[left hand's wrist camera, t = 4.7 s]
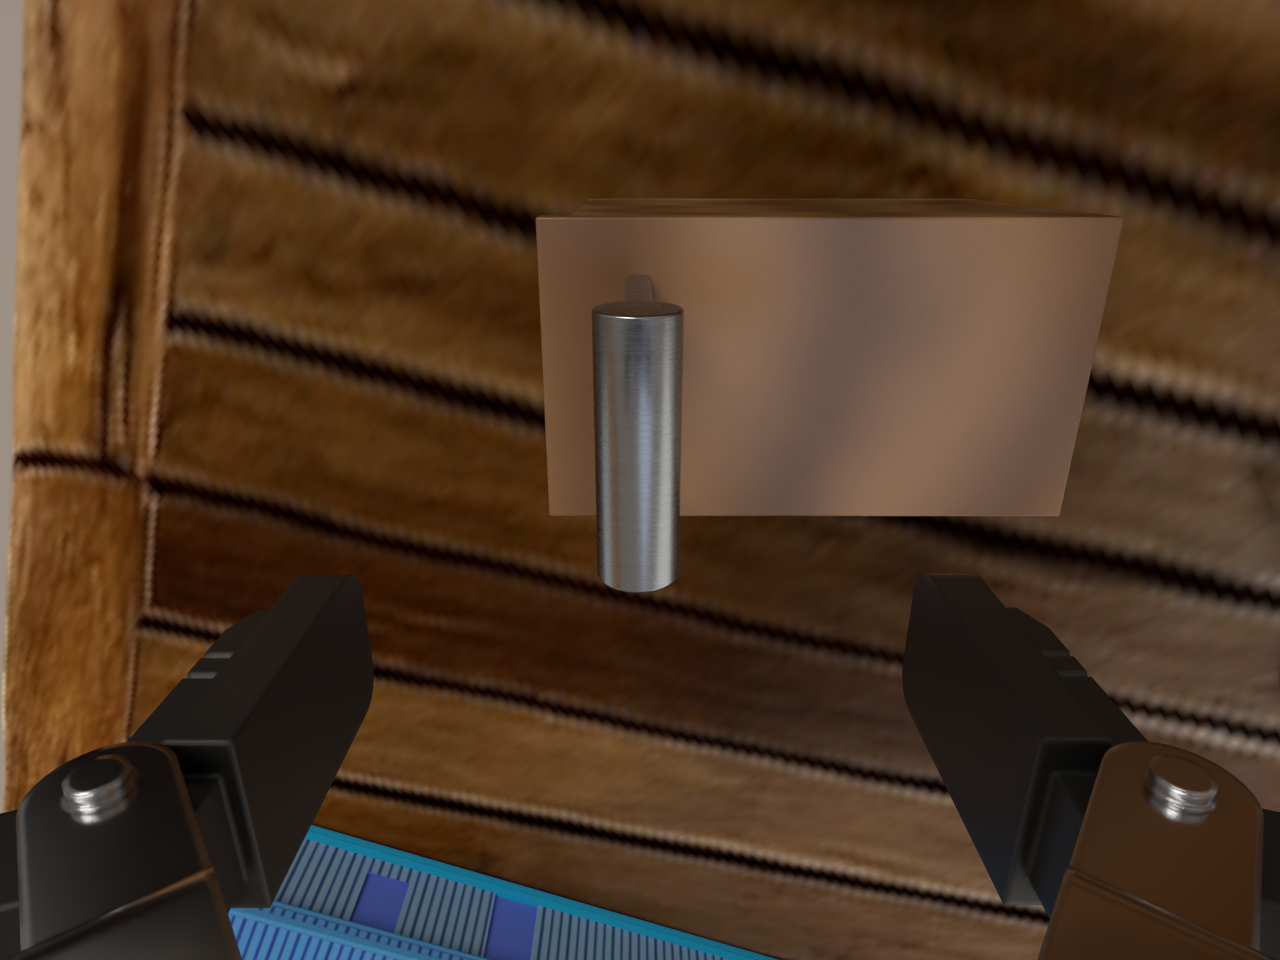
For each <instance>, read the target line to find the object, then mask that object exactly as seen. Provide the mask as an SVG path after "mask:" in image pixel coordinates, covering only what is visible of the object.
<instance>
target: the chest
mask: <svg viewBox="0 0 1280 960" xmlns="http://www.w3.org/2000/svg"><path fill="white" fill-rule="evenodd" d="M571 215H1101V214H1092V213H1084V212H1075V211H1067V210H1058V209H1050V208H1041V207H1033V206H1024V205H1016V204H1007V203H999V202H990V201H982V200H977V199H968V198H590V199H589V200H588V202H586V203H585V204H584V205H582V206H581V207H580V208H578V209H577V210H576V211H574V212H573V213H572V214H571Z"/></svg>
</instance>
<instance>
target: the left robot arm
mask: <svg viewBox="0 0 1280 960" xmlns="http://www.w3.org/2000/svg"><path fill="white" fill-rule="evenodd" d="M1069 653H1070V652H1069V651H1068V649H1067V648H1066V647H1065V646H1064V645H1063V644H1062V643H1061V641H1060V640H1059V639H1058V638H1057V637H1056V636H1055V635H1054V633H1053V632H1052V631H1051V630H1050V629H1049V628H1048V627H1046V626H1045V625H1043V624H1041V623H1040V622H1038V621H1037V620H1035V619H1033V618H1032V617H1030V616H1029V615H1027V614H1025V613H1024V612H1022V611H1021V610H1019V609H1017V608H1005V607H1004V606H1003V604H1002V603H1001V602H1000V601H999V599H998V598H997V597H996V596H995V595H994V593H993V592H992V591H991V590H990V588H989V587H988V586H987V585H986V584H985V582H984V581H983V580H982V579H981V578H980V577H979V576H978V575H977V574H921V575H920V576H919V577H918V579H917V581H916V584H915V588H914V593H913V600H912V607H911V613H910V620H909V627H908V634H907V640H906V647H905V654H904V661H903V671H902V680H903V690H904V696H905V700H906V704H907V707H908V710H909V712H910V714H911V716H912V718H913V720H914V722H915V724H916V726H917V728H918V730H919V732H920V734H921V737H922V739H923V741H924V743H925V745H926V747H927V749H928V751H929V753H930V755H931V757H932V759H933V761H934V763H935V765H936V767H937V769H938V771H939V773H940V775H941V777H942V779H943V782H944V784H945V786H946V788H947V790H948V792H949V794H950V796H951V798H952V800H953V802H954V804H955V806H956V808H957V810H958V812H959V814H960V816H961V818H962V820H963V822H964V824H965V827H966V829H967V831H968V833H969V835H970V837H971V839H972V841H973V843H974V845H975V847H976V849H977V851H978V853H979V855H980V857H981V859H982V861H983V863H984V865H985V867H986V869H987V872H988V874H989V876H990V878H991V880H992V882H993V884H994V886H995V888H996V890H997V892H998V894H999V896H1000V898H1001V900H1002V902H1003V904H1004V905H1043V907H1044V909H1045V911H1046V913H1047V914H1048V916H1049V918H1050V922H1049V925H1048V928H1047V931H1046V934H1045V938H1044V941H1043V944H1042V947H1041V950H1040V954H1039V957H1038V960H1280V812H1275V811H1271V810H1266V809H1262V808H1261V806H1260V803H1259V802H1258V800H1257V799H1256V797H1255V796H1254V794H1253V793H1252V792H1251V791H1250V790H1249V789H1248V788H1247V787H1246V786H1245V785H1244V784H1243V783H1242V782H1241V781H1240V780H1238V779H1237V778H1236V777H1235V776H1233V775H1232V774H1231V773H1229V772H1228V771H1226V770H1225V769H1223V768H1222V767H1220V766H1218V765H1217V764H1215V763H1213V762H1212V761H1209V760H1207V759H1205V758H1203V757H1201V756H1199V755H1197V754H1194V753H1192V752H1189V751H1187V750H1184V749H1180V748H1177V747H1174V746H1170V745H1166V744H1161V743H1154V742H1148V741H1147V740H1146V739H1145V738H1144V736H1143V735H1142V734H1141V733H1140V732H1139V731H1138V730H1137V728H1136V727H1135V726H1134V725H1133V724H1132V723H1131V722H1130V720H1129V719H1128V718H1127V717H1126V716H1125V715H1124V714H1123V712H1122V711H1121V710H1120V709H1119V708H1118V707H1117V706H1116V704H1115V703H1114V702H1113V701H1112V700H1111V699H1110V698H1109V696H1108V695H1107V694H1106V693H1105V692H1104V691H1103V690H1102V688H1101V687H1100V686H1099V685H1098V684H1097V683H1096V682H1095V680H1094V679H1093V678H1092V677H1087V671H1086V670H1085V669H1084V668H1083V667H1082V665H1081V664H1080V663H1079V662H1078V661H1077V660H1076V659H1075V657H1070V654H1069ZM187 674H188V676H187V679H182V680H181V681H180V682H179V684H178V685H177V686H176V687H175V688H174V689H173V690H172V692H171V693H170V694H169V695H168V696H167V697H166V698H165V699H164V701H163V702H162V703H161V704H160V705H159V706H158V707H157V709H156V710H155V711H154V712H153V713H152V714H151V715H150V716H149V718H148V719H147V720H146V721H145V722H144V723H143V724H142V726H141V727H140V728H139V729H138V730H137V731H136V732H135V733H134V735H133V736H132V737H131V738H130V739H129V740H128V741H127V742H126V743H119V744H114V745H110V746H106V747H103V748H100V749H96V750H93V751H91V752H88V753H86V754H83V755H81V756H79V757H77V758H75V759H73V760H71V761H68V762H67V763H65V764H63V765H62V766H60V767H58V768H57V769H55V770H54V771H52V772H51V773H49V774H48V775H47V776H45V777H44V778H43V779H42V780H40V781H39V782H38V783H37V784H36V785H35V786H34V787H33V788H32V789H31V790H30V791H29V792H28V793H27V794H26V796H25V797H24V799H23V800H22V802H21V803H20V806H19V808H18V810H14V811H10V812H6V813H1V814H0V960H242V957H241V954H240V950H239V947H238V944H237V941H236V938H235V934H234V931H233V928H232V925H231V922H230V919H229V915H228V913H229V911H230V909H231V908H270V907H271V905H272V903H273V901H274V899H275V897H276V895H277V893H278V891H279V889H280V887H281V885H282V883H283V881H284V879H285V877H286V875H287V873H288V871H289V869H290V867H291V865H292V863H293V861H294V859H295V857H296V855H297V853H298V851H299V849H300V847H301V845H302V843H303V841H304V839H305V837H306V835H307V833H308V831H309V829H310V827H311V825H312V822H313V820H314V818H315V816H316V814H317V812H318V810H319V808H320V806H321V804H322V802H323V800H324V798H325V796H326V794H327V792H328V790H329V788H330V786H331V784H332V782H333V780H334V778H335V776H336V774H337V772H338V770H339V768H340V766H341V764H342V762H343V760H344V758H345V756H346V754H347V752H348V750H349V748H350V746H351V744H352V742H353V740H354V738H355V736H356V734H357V732H358V730H359V728H360V725H361V723H362V721H363V719H364V717H365V715H366V713H367V711H368V708H369V705H370V702H371V697H372V692H373V681H374V672H373V662H372V655H371V649H370V642H369V635H368V629H367V622H366V616H365V609H364V602H363V596H362V590H361V586H360V583H359V581H358V579H357V577H355V576H354V575H299V576H297V577H296V578H295V579H294V580H293V582H292V583H291V584H290V585H289V586H288V588H287V589H286V590H285V591H284V592H283V594H282V595H281V596H280V597H279V599H278V600H277V601H276V602H275V603H274V605H273V606H272V607H271V608H270V609H259V610H257V611H255V612H254V613H252V614H251V615H249V616H247V617H246V618H244V619H242V620H241V621H239V622H238V623H236V624H234V625H233V626H231V627H230V628H228V629H226V630H225V631H224V633H223V634H222V635H221V636H220V637H219V638H218V639H217V641H216V642H215V643H214V644H213V645H212V646H211V647H210V648H209V650H208V651H207V652H206V653H205V658H201V659H200V660H199V661H198V662H197V663H196V664H195V665H194V667H193V668H192V669H191V670H190V671H189V672H188V673H187Z"/></svg>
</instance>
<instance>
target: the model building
mask: <svg viewBox="0 0 1280 960" xmlns="http://www.w3.org/2000/svg"><path fill="white" fill-rule="evenodd" d="M228 915H229V919H230V922H231V925H232V928H233V931H234V934H235V938H236V941H237V944H238V947H239V950H240V954H241V957H242V960H779V959H775V958H772V957H768V956H765V955H761V954H758V953H754V952H751V951H747V950H744V949H740V948H737V947H734V946H730V945H727V944H723V943H720V942H716V941H713V940H709V939H706V938H702V937H699V936H695V935H692V934H688V933H685V932H682V931H678V930H675V929H671V928H668V927H664V926H661V925H657V924H654V923H650V922H647V921H643V920H640V919H636V918H633V917H630V916H626V915H623V914H619V913H616V912H612V911H609V910H605V909H602V908H598V907H595V906H591V905H588V904H584V903H581V902H577V901H574V900H571V899H567V898H564V897H560V896H557V895H553V894H550V893H546V892H543V891H539V890H536V889H532V888H529V887H525V886H522V885H519V884H515V883H512V882H508V881H505V880H501V879H498V878H494V877H491V876H487V875H484V874H480V873H477V872H473V871H470V870H467V869H463V868H460V867H456V866H453V865H449V864H446V863H442V862H439V861H435V860H432V859H428V858H425V857H421V856H418V855H414V854H411V853H408V852H404V851H401V850H397V849H394V848H390V847H387V846H383V845H380V844H376V843H373V842H369V841H366V840H362V839H359V838H356V837H352V836H349V835H345V834H342V833H338V832H335V831H331V830H328V829H324V828H321V827H317V826H314V825H311V827H310V829H309V831H308V833H307V835H306V837H305V839H304V841H303V843H302V845H301V847H300V849H299V851H298V853H297V855H296V857H295V859H294V861H293V863H292V865H291V867H290V869H289V871H288V873H287V875H286V877H285V879H284V881H283V883H282V885H281V887H280V889H279V891H278V893H277V895H276V897H275V899H274V901H273V903H272V905H271V907H270V908H231V909H230V911H229V913H228Z"/></svg>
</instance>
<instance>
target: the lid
mask: <svg viewBox="0 0 1280 960" xmlns="http://www.w3.org/2000/svg"><path fill="white" fill-rule="evenodd" d="M1123 221H1124V218H1123V217H1118V216H1109V215H540V216H538V217H536V238H537V260H538V281H539V302H540V323H541V345H542V366H543V387H544V409H545V430H546V451H547V473H548V494H549V514H550V515H551V516H596V529H597V572H598V576H599V578H600V580H601V581H602V582H603V583H604V584H606V585H607V586H609V587H611V588H614V589H617V590H621V591H626V592H650V591H655V590H659V589H662V588H665V587H667V586H669V585H670V584H672V583H673V582H674V581H675V580H676V578H677V576H678V574H679V532H680V516H1059V514H1060V510H1061V505H1062V501H1063V496H1064V492H1065V487H1066V482H1067V478H1068V473H1069V469H1070V464H1071V459H1072V455H1073V450H1074V446H1075V441H1076V436H1077V432H1078V427H1079V423H1080V418H1081V414H1082V409H1083V404H1084V400H1085V395H1086V391H1087V386H1088V381H1089V377H1090V372H1091V368H1092V363H1093V359H1094V354H1095V349H1096V345H1097V340H1098V336H1099V331H1100V326H1101V322H1102V317H1103V313H1104V308H1105V304H1106V299H1107V294H1108V290H1109V285H1110V281H1111V276H1112V271H1113V267H1114V262H1115V258H1116V253H1117V249H1118V244H1119V239H1120V235H1121V230H1122V226H1123Z"/></svg>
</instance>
